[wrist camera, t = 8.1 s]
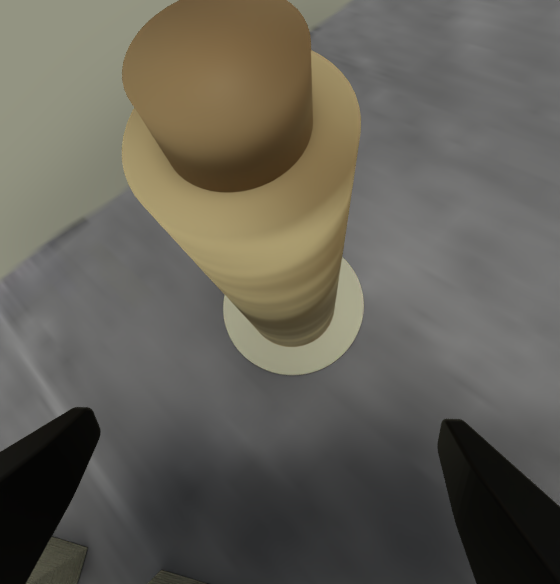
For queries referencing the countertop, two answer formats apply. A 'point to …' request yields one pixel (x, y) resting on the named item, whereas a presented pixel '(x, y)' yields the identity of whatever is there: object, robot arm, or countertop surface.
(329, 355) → the coaster
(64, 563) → the spice tin
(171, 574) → the spice tin
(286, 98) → the pepper mill
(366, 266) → the countertop surface
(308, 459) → the countertop surface
